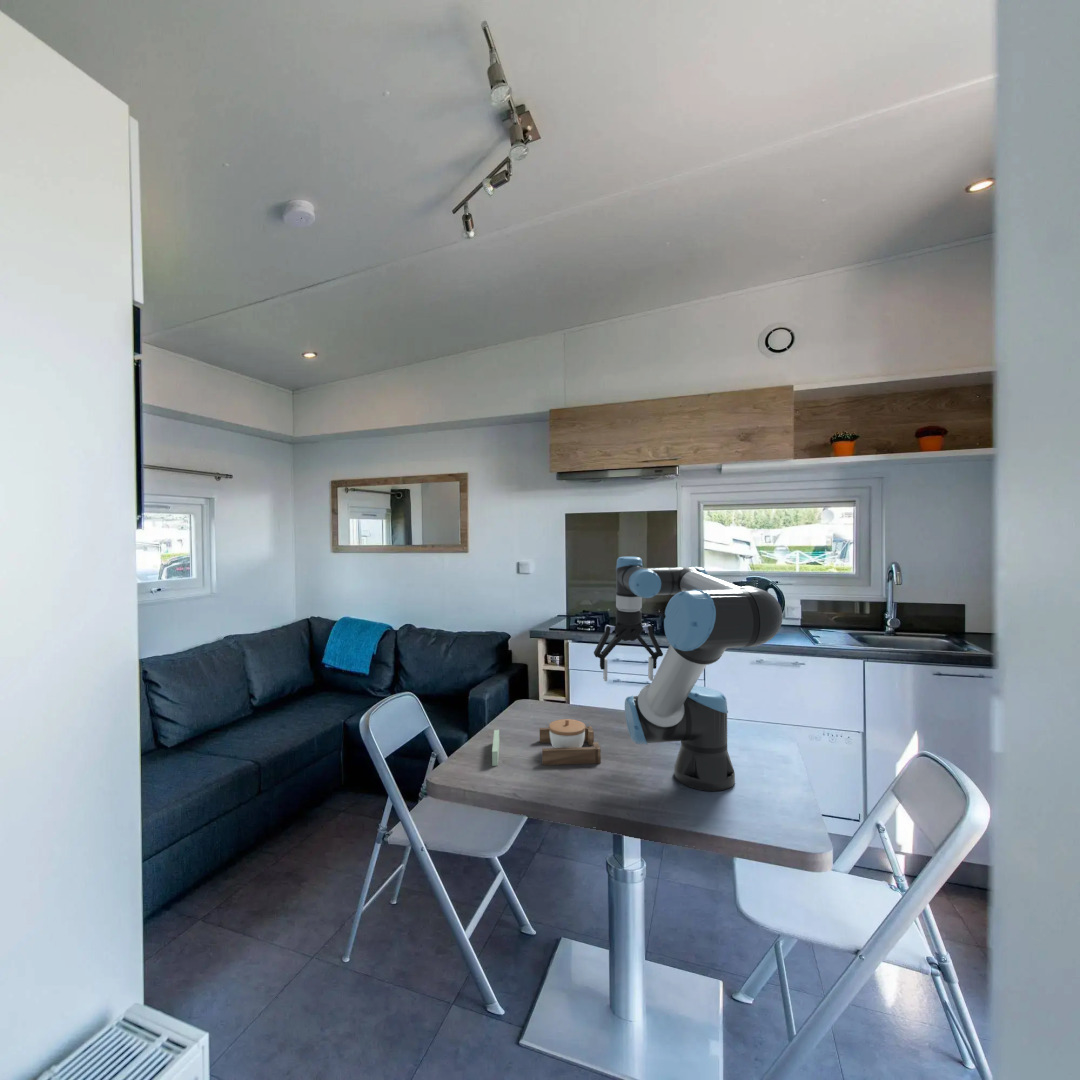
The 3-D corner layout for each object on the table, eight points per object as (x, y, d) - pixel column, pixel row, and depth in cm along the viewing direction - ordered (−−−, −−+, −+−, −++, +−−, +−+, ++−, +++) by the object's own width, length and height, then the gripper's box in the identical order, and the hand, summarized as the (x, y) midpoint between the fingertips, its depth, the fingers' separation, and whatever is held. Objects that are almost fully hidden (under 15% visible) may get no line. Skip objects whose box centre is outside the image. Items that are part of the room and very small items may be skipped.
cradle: (600, 763, 145) (600, 748, 145) (542, 765, 144) (542, 750, 144) (591, 739, 162) (591, 726, 162) (539, 740, 161) (539, 727, 161)
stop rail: (497, 765, 144) (497, 751, 144) (492, 765, 144) (492, 751, 144) (499, 742, 160) (499, 729, 160) (494, 742, 160) (494, 729, 160)
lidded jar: (560, 741, 160) (559, 711, 160) (591, 748, 155) (591, 717, 155) (542, 754, 151) (542, 722, 151) (575, 762, 146) (574, 729, 145)
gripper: (667, 606, 157) (665, 674, 158) (585, 606, 156) (584, 675, 158) (674, 611, 149) (673, 683, 151) (588, 612, 148) (587, 684, 150)
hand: (627, 679), depth 154 cm, fingers open, 13 cm apart
